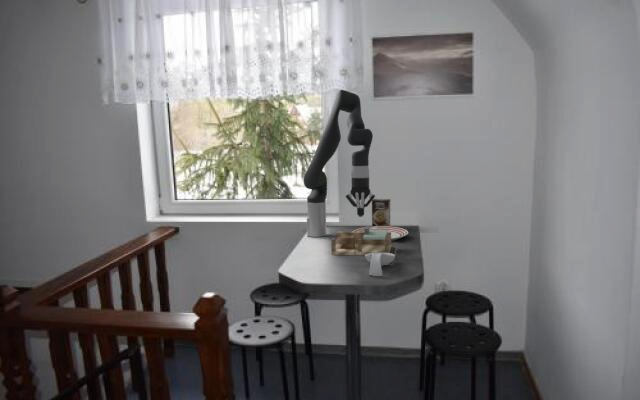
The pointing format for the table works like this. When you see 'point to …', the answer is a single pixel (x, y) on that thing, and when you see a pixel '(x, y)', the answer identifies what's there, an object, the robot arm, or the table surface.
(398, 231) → the dinner plate
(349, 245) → the walnut block
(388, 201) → the coffee box
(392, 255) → the spoon rest
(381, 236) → the sliding cover
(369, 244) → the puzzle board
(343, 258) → the table surface
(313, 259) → the table surface
